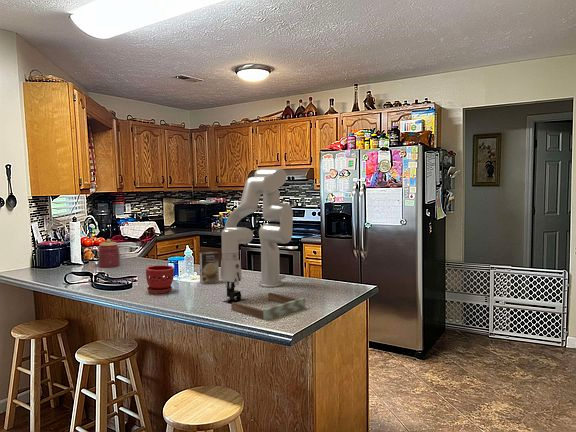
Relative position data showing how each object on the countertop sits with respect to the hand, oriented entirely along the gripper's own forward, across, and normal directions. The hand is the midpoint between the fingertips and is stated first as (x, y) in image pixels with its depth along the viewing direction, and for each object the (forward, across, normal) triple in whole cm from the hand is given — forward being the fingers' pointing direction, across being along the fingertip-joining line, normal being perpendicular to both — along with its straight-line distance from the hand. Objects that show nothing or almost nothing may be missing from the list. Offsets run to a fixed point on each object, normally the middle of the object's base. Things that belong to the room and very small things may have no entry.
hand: (230, 296), depth 196 cm
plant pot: (+1, +36, +14) cm, 39 cm away
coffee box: (+1, +35, -14) cm, 37 cm away
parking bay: (+1, -24, 0) cm, 24 cm away
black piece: (+2, -4, 0) cm, 4 cm away
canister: (+1, +121, +1) cm, 121 cm away
